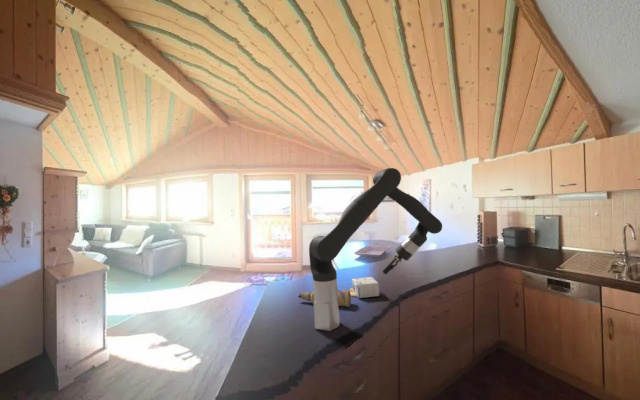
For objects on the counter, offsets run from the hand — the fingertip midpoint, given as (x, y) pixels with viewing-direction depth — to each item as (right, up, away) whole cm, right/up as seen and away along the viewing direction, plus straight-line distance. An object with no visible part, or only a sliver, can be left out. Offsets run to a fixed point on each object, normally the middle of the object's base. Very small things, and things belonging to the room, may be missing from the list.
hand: (384, 272), depth 120 cm
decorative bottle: (-30, -12, -9) cm, 33 cm away
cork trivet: (-13, -11, +2) cm, 17 cm away
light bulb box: (-4, -7, 0) cm, 8 cm away
